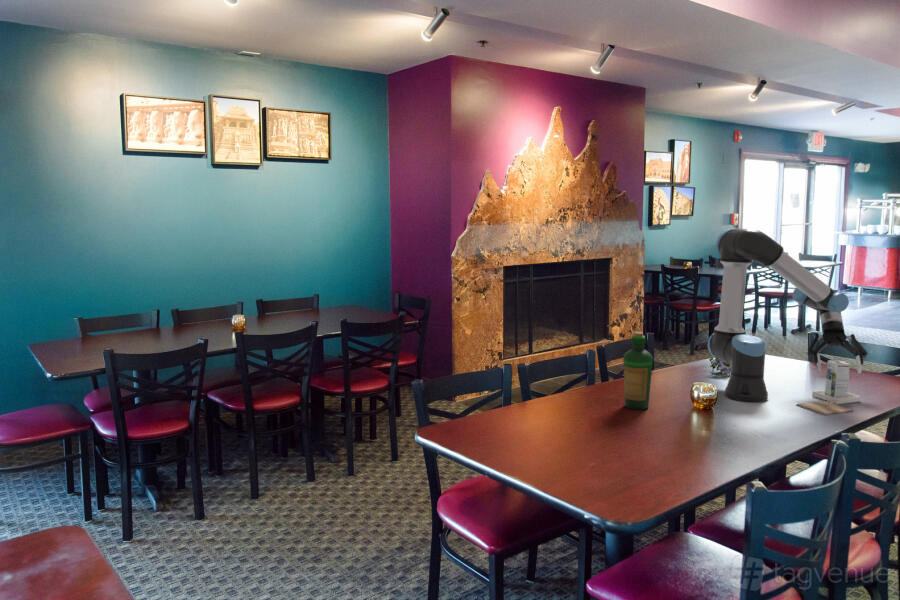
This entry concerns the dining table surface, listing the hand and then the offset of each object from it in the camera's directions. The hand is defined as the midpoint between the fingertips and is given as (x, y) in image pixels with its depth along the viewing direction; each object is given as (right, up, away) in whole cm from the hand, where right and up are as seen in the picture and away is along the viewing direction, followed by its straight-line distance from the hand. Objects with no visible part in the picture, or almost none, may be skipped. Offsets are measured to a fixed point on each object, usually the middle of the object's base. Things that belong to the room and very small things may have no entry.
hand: (839, 370), depth 244 cm
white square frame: (-2, -11, -1) cm, 11 cm away
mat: (-13, -12, -12) cm, 22 cm away
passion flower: (-29, -6, +39) cm, 49 cm away
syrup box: (-2, -11, -1) cm, 11 cm away
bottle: (-80, -13, -8) cm, 81 cm away
